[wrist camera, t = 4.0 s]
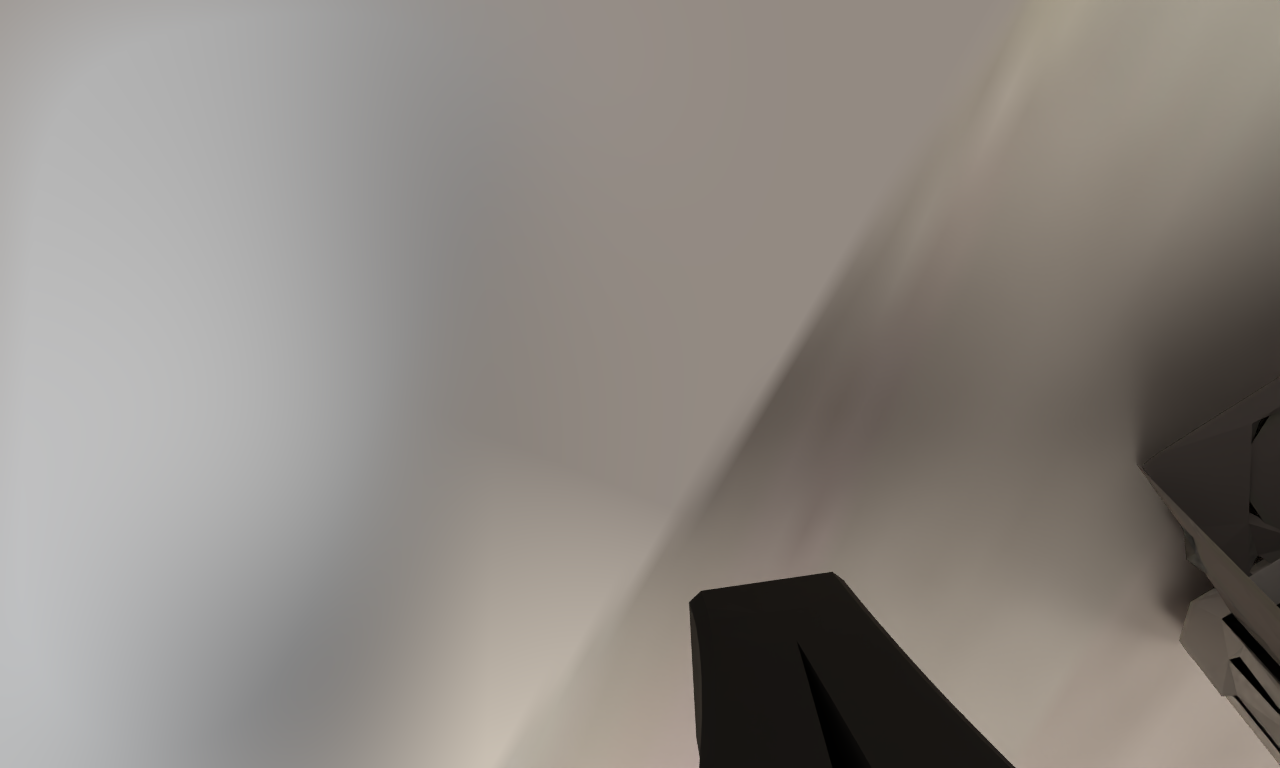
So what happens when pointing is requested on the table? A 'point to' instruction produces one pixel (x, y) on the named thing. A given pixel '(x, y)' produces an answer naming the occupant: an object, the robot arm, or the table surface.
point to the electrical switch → (1233, 552)
